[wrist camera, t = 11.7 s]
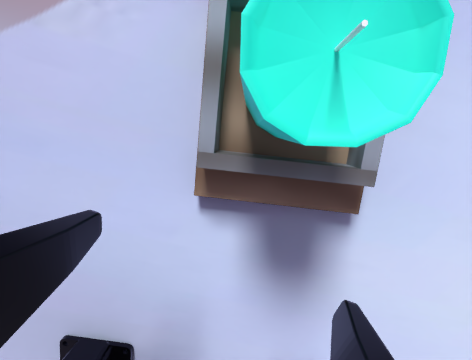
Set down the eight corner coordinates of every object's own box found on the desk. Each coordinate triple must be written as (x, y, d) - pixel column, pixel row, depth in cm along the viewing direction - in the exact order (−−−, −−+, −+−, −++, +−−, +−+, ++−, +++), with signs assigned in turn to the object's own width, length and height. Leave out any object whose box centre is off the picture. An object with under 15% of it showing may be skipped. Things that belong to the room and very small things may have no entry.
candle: (353, 95, 18) (561, 25, 6) (285, 156, 19) (344, 202, 7) (293, 25, 17) (390, -211, 5) (226, 92, 18) (181, 21, 6)
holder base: (350, 208, 21) (374, 226, 17) (198, 190, 21) (186, 204, 17) (395, -23, 17) (437, -68, 14) (215, -38, 18) (206, -85, 14)
